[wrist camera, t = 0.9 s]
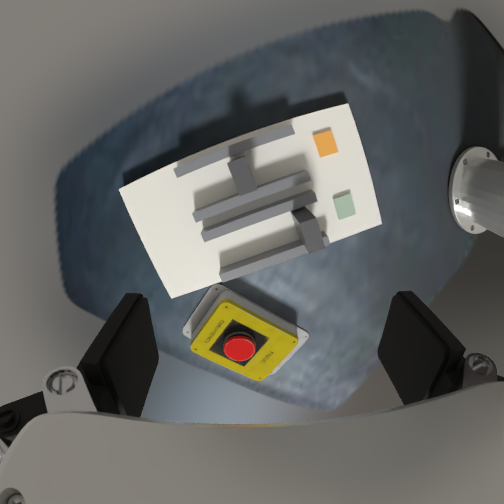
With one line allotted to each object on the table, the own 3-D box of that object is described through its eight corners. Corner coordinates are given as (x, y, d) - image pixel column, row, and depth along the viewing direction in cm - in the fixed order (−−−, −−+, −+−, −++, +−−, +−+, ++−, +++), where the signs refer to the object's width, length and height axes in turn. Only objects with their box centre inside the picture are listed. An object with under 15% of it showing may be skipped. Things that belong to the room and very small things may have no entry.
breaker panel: (343, 105, 27) (354, 101, 24) (376, 220, 32) (388, 228, 29) (123, 187, 30) (112, 192, 27) (173, 292, 34) (168, 306, 31)
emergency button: (211, 296, 30) (317, 352, 34) (215, 278, 34) (310, 332, 38) (174, 350, 33) (273, 395, 36) (180, 330, 37) (271, 373, 40)
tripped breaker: (244, 155, 27) (245, 156, 23) (255, 182, 28) (257, 189, 24) (229, 160, 28) (226, 163, 23) (240, 188, 29) (239, 196, 24)
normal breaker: (304, 206, 29) (316, 217, 25) (312, 232, 30) (325, 247, 26) (290, 211, 30) (299, 223, 25) (298, 237, 31) (309, 253, 26)
